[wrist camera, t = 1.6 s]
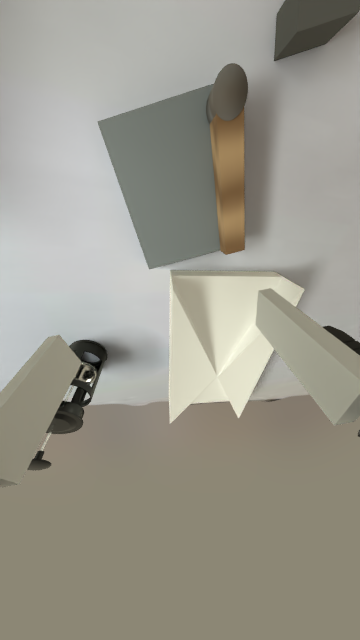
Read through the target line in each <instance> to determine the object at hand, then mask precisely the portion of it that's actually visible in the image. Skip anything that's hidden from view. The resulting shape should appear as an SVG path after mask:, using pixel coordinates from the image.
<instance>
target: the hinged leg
mask: <svg viewBox="0 0 360 640" xmlns="http://www.w3.org/2000/svg"><path fill="white" fill-rule="evenodd" d="M247 93H248V83H247V77H246V74H245V72H244V70H243V69H242V68H241V67H240V66H239V65H237V64H233V63H232V64H228V65H226V66H225V67H224V68H223V69H222V70H221V71H220V73H219V74H218V76H217V78H216V81H215V83H214V85H213V87H212V90H211V92H210V94H209V96H208V99H207V104H206V115H207V120H208V122H209V124H210V134H211V146H212V157H213V169H214V181H215V193H216V204H217V216H218V228H219V240H220V251H222V252H223V253H224V254H226V255H227V254H231V253H235V252H238V251H242V250H245V232H244V105H245V102H246V99H247Z"/></svg>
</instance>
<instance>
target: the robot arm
mask: <svg viewBox="0 0 360 640" xmlns="http://www.w3.org/2000/svg"><path fill="white" fill-rule="evenodd" d="M255 325H256V326H257V328H258V329H259V330H260V331H261V333H262V334H263V335H264V337H265V338H266V339H267V340H268V342H269V343H270V344H271V346H272V347H273V348H274V349H275V351H276V352H277V353H278V354H279V356H280V357H281V358H282V360H283V361H284V362H285V363H286V365H287V366H288V367H289V368H290V370H291V371H292V372H293V374H294V375H295V376H296V377H297V379H298V380H299V381H300V382H301V384H302V385H303V386H304V388H305V389H306V390H307V391H308V393H309V394H310V395H311V396H312V398H313V399H314V400H315V401H316V403H317V404H318V405H319V407H320V408H321V409H322V410H323V412H324V413H325V414H326V416H327V417H328V418H329V419H330V420H331V422H332V423H333V424H334V425H339V424H345V423H350V422H354V421H355V420H356V419H357V418H358V417H359V416H360V343H359V342H358V341H355V339H353V338H352V337H350V336H349V335H348V334H346V333H345V332H343V331H341V330H338V329H336V328H334V327H331V326H325V327H321V326H320V325H319V324H317V323H316V322H315V321H313V320H312V319H311V318H310V317H308V316H307V315H306V314H304V313H303V312H302V311H300V310H299V309H298V308H296V307H295V306H294V305H292V304H291V303H290V302H288V301H287V300H286V299H284V298H283V297H282V296H280V295H279V294H278V293H277V292H275V291H274V290H273V289H271V288H268V289H264V290H259V291H258V300H257V312H256V324H255ZM81 363H82V362H81V361H80V359H79V358H78V357H77V356H76V355H75V353H74V352H73V351H72V350H71V348H70V347H69V346H68V345H67V344H66V342H65V341H64V340H63V339H62V338H61V336H60V335H56V336H51V337H48V338H47V339H46V340H45V341H44V343H43V344H42V345H41V346H40V347H39V348H38V350H37V351H36V352H35V353H34V354H33V355H32V357H31V358H30V359H29V360H28V361H27V362H26V363H25V365H24V366H23V367H22V368H21V369H20V370H19V372H18V373H17V374H16V375H15V376H14V377H13V379H12V380H11V381H10V382H9V383H8V384H7V386H6V387H5V388H4V389H3V390H2V391H1V393H0V487H6V486H11V485H17V484H20V482H21V480H22V478H23V477H24V474H25V473H26V470H27V469H28V467H29V465H30V463H31V461H32V459H33V457H34V455H35V453H36V451H37V449H38V447H39V445H40V443H41V441H42V439H43V437H44V435H45V433H46V431H47V429H48V427H49V425H50V424H51V422H52V420H53V418H54V416H55V414H56V412H57V410H58V408H59V406H60V404H61V402H62V400H63V398H64V396H65V394H66V392H67V390H68V388H69V386H70V384H71V382H72V380H73V378H74V376H75V374H76V372H77V370H78V369H79V367H80V365H81ZM358 436H359V437H360V430H359V432H358Z"/></svg>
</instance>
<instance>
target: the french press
mask: <svg viewBox="0 0 360 640" xmlns="http://www.w3.org/2000/svg"><path fill="white" fill-rule="evenodd" d="M69 347H70V348H71V350H72V351H73V352H74V351H75V355H76V356H77V357H78V358H79V359H80V358H81V356H82V355H83V353H84V351H86V352H89V353H92V354H94V355H96V356H97V357H98V358H99V359H100V361H98V362H96V363H88V362H85V361H81V360H80V361H81V362H82V363H81V365H80V367H79V369H78V370H77V372H76V374H75V376H74V378H73V380H72V382H71V384H70V385H72V387H71V389H70V391H69V393H68V395H67V397H66V399H65V401H62V402H61V404H60V406H59V408H58V410H57V412H56V414H55V416H54V418H53V420H52V422H51V424H50V425H49V427H48V429H47V431H46V433H49V434H48V436H47V438H46V440H45V443H44V444H43V446H42V448H41V451H38V452H37V454H36V456H35V458H34V459H32V461H31V463H30V465H29V467H28V469H27V470H42V469H46V468H49V467H50V466H51V463H50V462H49V461H46V460H41V459H42V456H43V454H44V451H43V450H44V448H45V445H46V443H47V441H48V439H49V437H50V435H51V434H65V433H71V432H75V431H77V430H79V429H80V428H81V427H82V425H83V420H82V418H83V415H84V410H83V408H82V407H84V406H86V405H88V404H89V403H90V402H91V399H92V397H93V393H94V391H95V388H96V385H97V382H98V379H99V376H100V374H101V371H102V368H103V365H104V363H105V361H106V360H107V351H106V350H105V348H104V347H103V346H101V345H100V344H98V343H96V342H93V341H89V340H80V341H76V342H74V343H72V344H71V345H70V346H69ZM93 382H94V383H93ZM91 383H93V386H92V388H91V386H90V384H91ZM74 386H77V389H76V392H75V394H74V396H73V398H72V400H71V402H66V401H67V399H68V397H69V395H70V393H71V391H72V389H73V387H74ZM87 392H88V394H89V395H90V398H89V399H87V400H85V401H83V400H84V398H85V395H86V393H87Z"/></svg>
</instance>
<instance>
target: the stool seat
mask: <svg viewBox="0 0 360 640" xmlns="http://www.w3.org/2000/svg"><path fill="white" fill-rule="evenodd" d="M213 85H214V84H211V85H208V86H205V87H202V88H199V89H196V90H193V91H190V92H187V93H184V94H181V95H178V96H175V97H172V98H169V99H165V100H162V101H159V102H156V103H153V104H150V105H147V106H144V107H141V108H138V109H135V110H132V111H129V112H126V113H123V114H120V115H117V116H113V117H110V118H107V119H104V120H101V121H98V125H99V127H100V130H101V133H102V136H103V139H104V142H105V145H106V147H107V150H108V153H109V156H110V159H111V162H112V165H113V167H114V170H115V173H116V176H117V179H118V182H119V185H120V187H121V190H122V193H123V196H124V199H125V202H126V205H127V207H128V210H129V213H130V216H131V219H132V222H133V225H134V227H135V230H136V233H137V236H138V239H139V242H140V245H141V247H142V250H143V253H144V256H145V259H146V262H147V265H148V267H149V269H153V268H156V267H160V266H164V265H167V264H171V263H175V262H178V261H182V260H186V259H190V258H193V257H197V256H201V255H204V254H208V253H212V252H215V251H219V250H220V240H219V228H218V216H217V204H216V193H215V181H214V169H213V157H212V146H211V134H210V124H209V122H208V120H207V115H206V104H207V99H208V96H209V94H210V92H211V90H212V87H213Z"/></svg>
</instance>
